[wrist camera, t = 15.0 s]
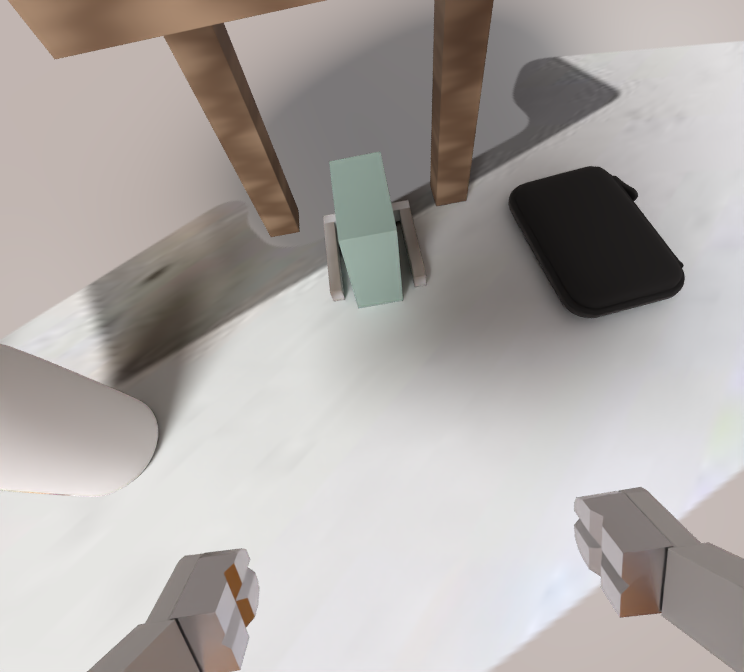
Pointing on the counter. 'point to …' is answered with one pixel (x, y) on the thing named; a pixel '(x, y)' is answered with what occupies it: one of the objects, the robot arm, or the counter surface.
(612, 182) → the carrying case or bag
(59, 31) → the walnut overhang shelf
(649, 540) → the robot arm
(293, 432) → the counter surface
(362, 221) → the sage rectangular block
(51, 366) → the milk bottle
